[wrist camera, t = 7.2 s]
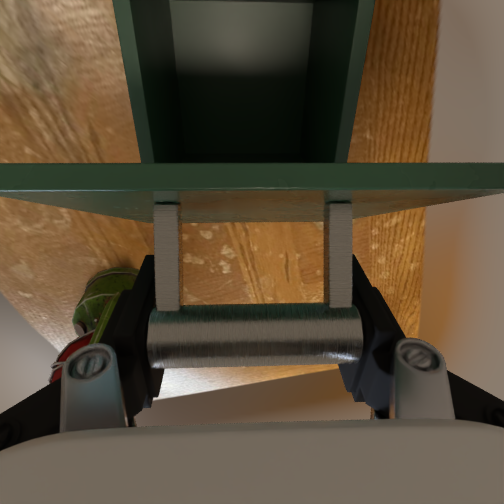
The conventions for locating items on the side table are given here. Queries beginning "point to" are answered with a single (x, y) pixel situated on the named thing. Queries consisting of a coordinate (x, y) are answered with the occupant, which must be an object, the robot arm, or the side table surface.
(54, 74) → the side table surface
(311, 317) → the bin lid
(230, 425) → the robot arm
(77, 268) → the side table surface
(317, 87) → the bin
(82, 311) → the lantern
